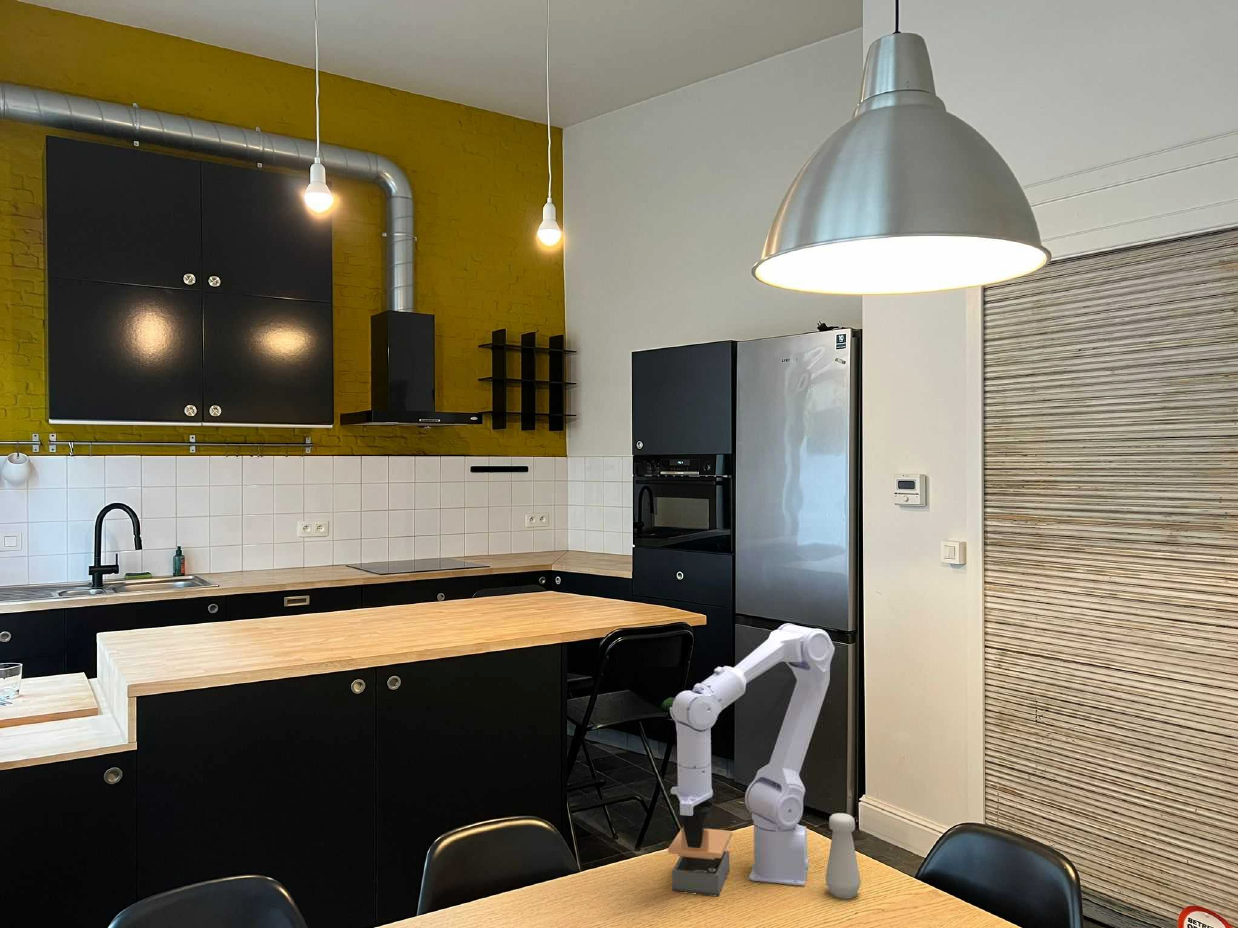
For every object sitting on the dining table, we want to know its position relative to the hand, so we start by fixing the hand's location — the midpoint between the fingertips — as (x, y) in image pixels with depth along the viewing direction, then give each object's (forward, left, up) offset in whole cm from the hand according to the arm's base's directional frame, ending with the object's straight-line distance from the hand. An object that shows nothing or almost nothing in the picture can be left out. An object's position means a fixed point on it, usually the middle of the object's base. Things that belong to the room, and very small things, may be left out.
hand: (695, 844), depth 157 cm
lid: (0, -5, -2) cm, 5 cm away
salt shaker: (-24, -6, -8) cm, 26 cm away
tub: (0, -5, -8) cm, 10 cm away
